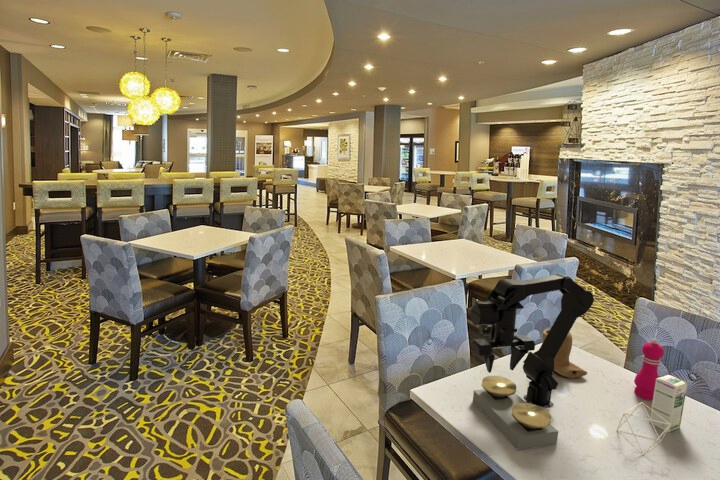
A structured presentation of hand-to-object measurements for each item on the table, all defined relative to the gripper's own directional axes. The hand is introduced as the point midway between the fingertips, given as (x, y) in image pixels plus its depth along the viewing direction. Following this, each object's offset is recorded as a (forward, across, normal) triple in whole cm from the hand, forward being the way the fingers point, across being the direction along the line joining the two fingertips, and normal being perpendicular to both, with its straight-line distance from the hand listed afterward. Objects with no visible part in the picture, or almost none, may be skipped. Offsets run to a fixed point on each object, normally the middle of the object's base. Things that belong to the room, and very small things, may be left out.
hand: (500, 371), depth 139 cm
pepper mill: (+13, -53, +4) cm, 55 cm away
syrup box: (+13, -44, +19) cm, 50 cm away
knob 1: (+9, 0, 0) cm, 9 cm away
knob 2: (+9, 0, +16) cm, 18 cm away
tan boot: (+12, -36, -17) cm, 42 cm away
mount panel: (+12, 0, +8) cm, 14 cm away
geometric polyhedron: (+12, -30, +24) cm, 40 cm away
